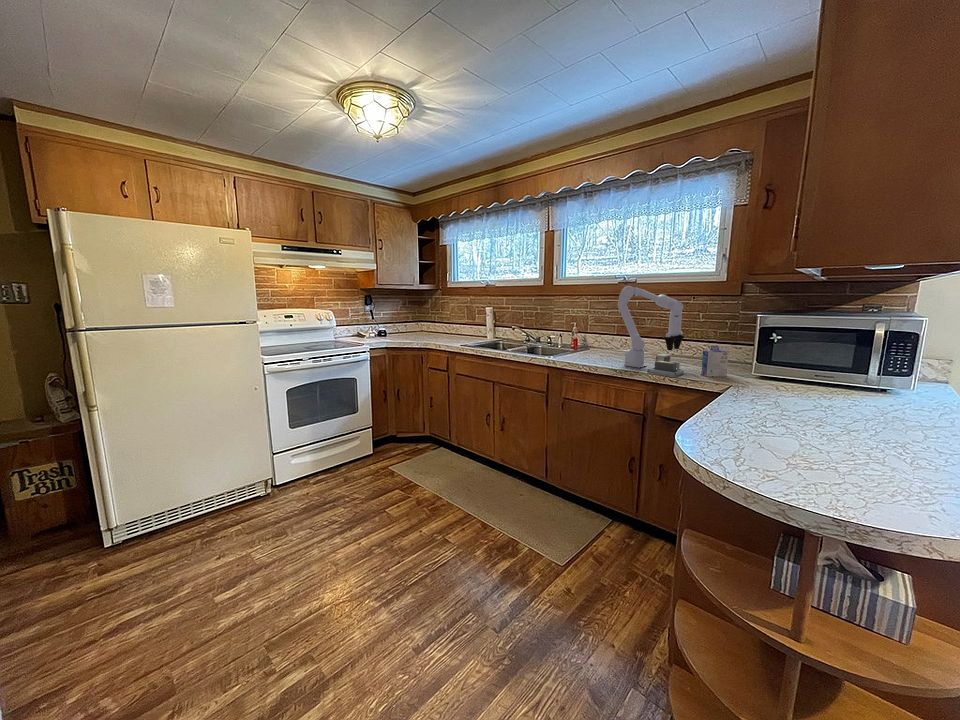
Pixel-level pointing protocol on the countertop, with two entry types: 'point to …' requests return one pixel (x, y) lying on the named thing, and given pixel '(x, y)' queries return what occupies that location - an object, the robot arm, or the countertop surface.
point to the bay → (666, 359)
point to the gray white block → (665, 366)
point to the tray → (666, 372)
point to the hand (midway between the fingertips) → (673, 349)
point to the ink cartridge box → (714, 362)
